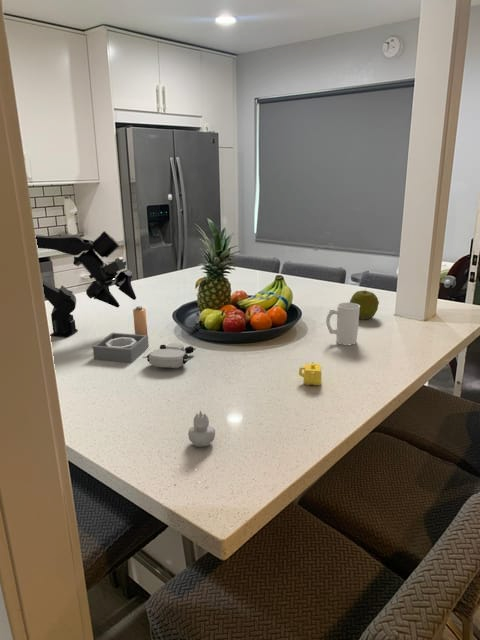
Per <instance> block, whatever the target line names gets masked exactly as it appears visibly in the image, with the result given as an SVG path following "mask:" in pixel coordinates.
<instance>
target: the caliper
mask: <svg viewBox="0 0 480 640" xmlns="http://www.w3.org/2000/svg"><path fill="white" fill-rule="evenodd" d="M200 314H201V312H199V311H196V312H195V324H196V323H199V321H200Z"/></svg>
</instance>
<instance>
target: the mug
mask: <svg viewBox="0 0 480 640" xmlns="http://www.w3.org/2000/svg"><path fill="white" fill-rule="evenodd" d="M359 311H360V305H358V304H355V303H350V302H339V303H338V304H337V309H334V308H330V309H329V312H328V313H327V315H326V319H325V323H326V324H325V325H326V327H327V329H328V331H329V334H330V335H333V334H334V335H336V339H335V340H336V341H335V342H336V343H337V342H338V344H339V343H340V345H342V344H346V345H345V346H349V345H348V344H353V345H355V344H354V343H356V344H357V340H358V331H359V330H358V329H359V322H360V321H359V320H360V319H359ZM334 315H337V316H336V328H332V326H331V323H330V322H331V321H330V320H331V318H332V316H334Z"/></svg>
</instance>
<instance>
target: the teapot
mask: <svg viewBox="0 0 480 640" xmlns="http://www.w3.org/2000/svg"><path fill="white" fill-rule="evenodd" d="M321 365H322V364H321V363H314V362H311V363H309V362H307V363H306V362H305V365H304V366H299V368H298V369H299V371H298V375H299V376H300V377H302V378H303V383H304V385H305V384H306V385H305V386H310V385H312V386H313V385H314V386H316V385H319V386H320V385H321V383H322V367H321Z"/></svg>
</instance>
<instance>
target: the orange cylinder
mask: <svg viewBox="0 0 480 640" xmlns="http://www.w3.org/2000/svg"><path fill="white" fill-rule="evenodd" d="M132 314H133V326H134V334H136V335H148V326H147V325H148V323H147V311H146V308H145V307H143V306H136V307H135V308H133V309H132ZM148 336H149V335H148Z"/></svg>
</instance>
